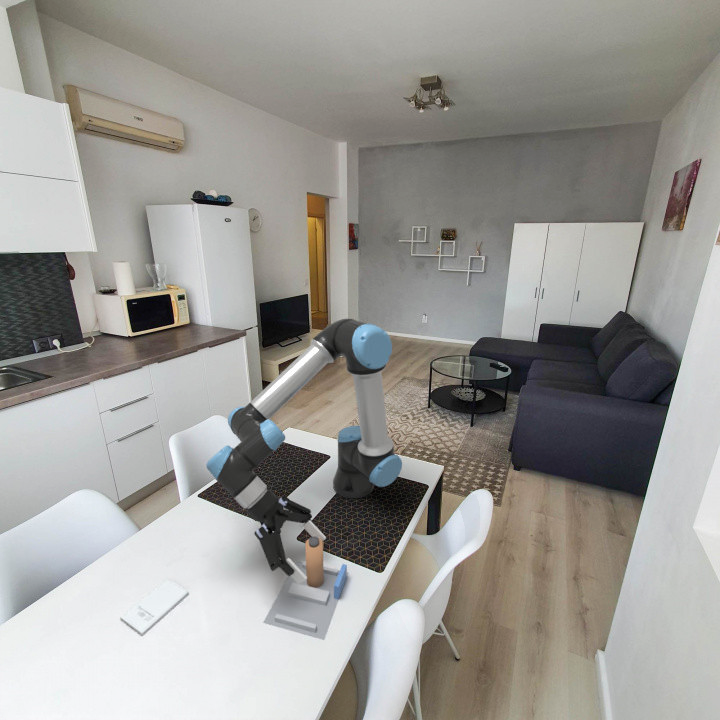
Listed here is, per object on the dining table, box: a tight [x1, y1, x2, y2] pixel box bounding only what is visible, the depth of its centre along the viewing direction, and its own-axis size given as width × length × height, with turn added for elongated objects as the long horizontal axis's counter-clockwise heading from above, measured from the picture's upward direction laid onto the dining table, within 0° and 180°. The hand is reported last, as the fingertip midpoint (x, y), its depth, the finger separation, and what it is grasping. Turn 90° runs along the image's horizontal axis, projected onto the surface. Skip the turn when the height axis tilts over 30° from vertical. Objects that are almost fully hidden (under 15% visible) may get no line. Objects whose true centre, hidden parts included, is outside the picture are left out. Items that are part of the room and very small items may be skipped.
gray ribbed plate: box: [263, 560, 349, 641], centre depth 95 cm, size 15×19×5 cm
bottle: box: [304, 536, 324, 588], centre depth 98 cm, size 4×4×13 cm
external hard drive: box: [120, 578, 190, 637], centre depth 93 cm, size 2×8×12 cm
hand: (313, 559), depth 97 cm, fingers open, 13 cm apart
